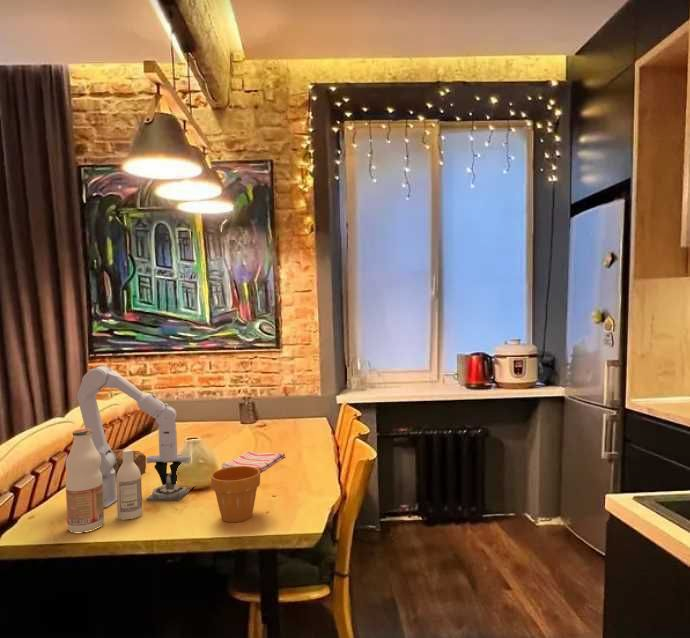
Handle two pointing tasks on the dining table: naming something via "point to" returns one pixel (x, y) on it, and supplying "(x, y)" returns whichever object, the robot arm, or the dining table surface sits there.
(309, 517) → the dining table surface
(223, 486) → the flower pot
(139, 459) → the bread
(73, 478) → the fruit juice
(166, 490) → the planet gear
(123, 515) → the bath foam
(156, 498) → the carrier plate
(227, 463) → the dish towel
